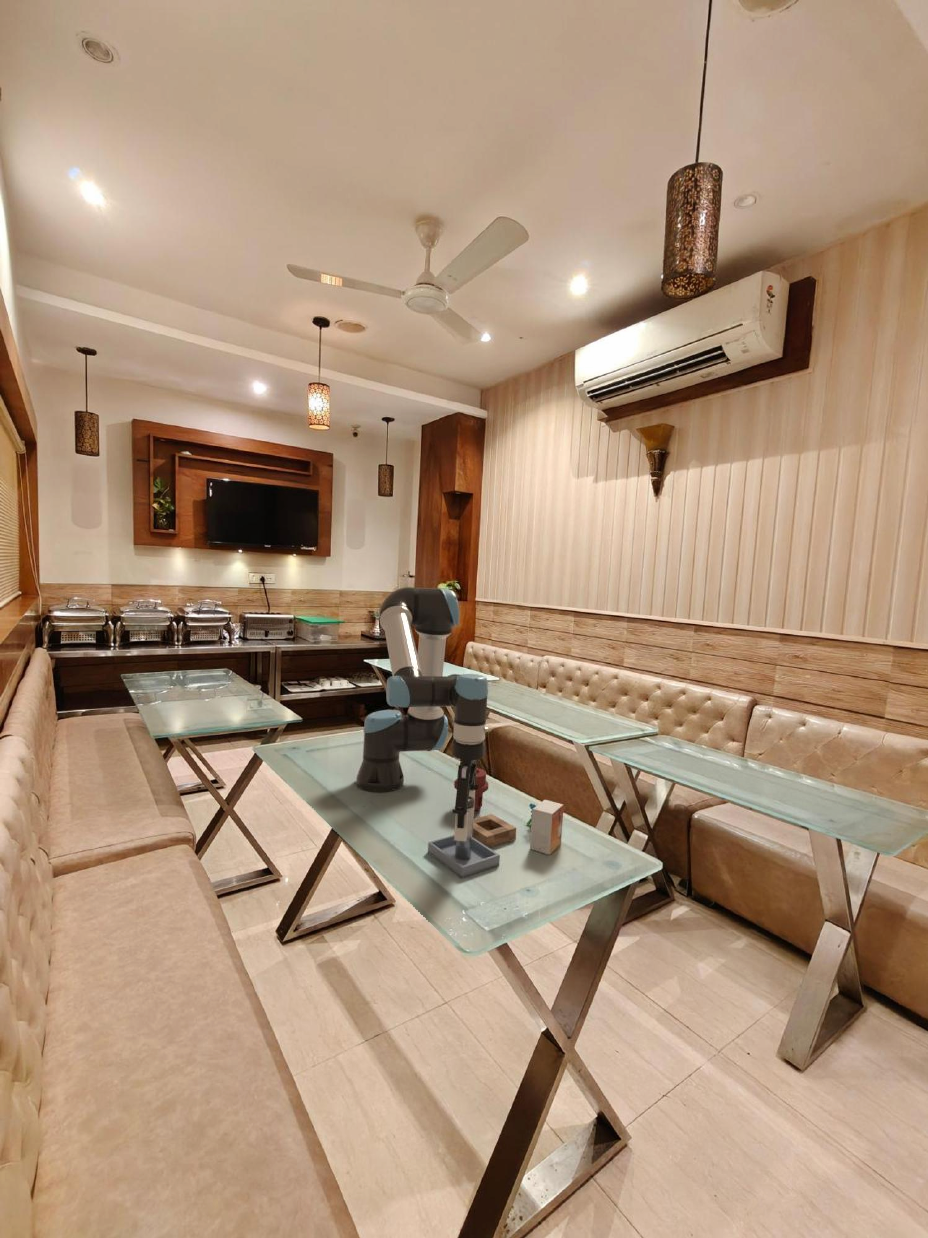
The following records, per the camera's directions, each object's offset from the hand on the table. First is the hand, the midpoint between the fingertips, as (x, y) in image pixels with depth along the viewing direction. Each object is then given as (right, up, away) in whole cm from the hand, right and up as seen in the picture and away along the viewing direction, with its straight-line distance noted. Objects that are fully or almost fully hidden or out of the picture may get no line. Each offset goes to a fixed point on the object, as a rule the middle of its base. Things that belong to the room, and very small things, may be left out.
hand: (464, 827), depth 131 cm
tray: (0, -8, 0) cm, 8 cm away
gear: (+21, -8, +18) cm, 29 cm away
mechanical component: (+2, -6, +29) cm, 30 cm away
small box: (+21, -9, +9) cm, 24 cm away
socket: (+6, -7, +13) cm, 16 cm away
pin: (0, -7, 0) cm, 7 cm away
